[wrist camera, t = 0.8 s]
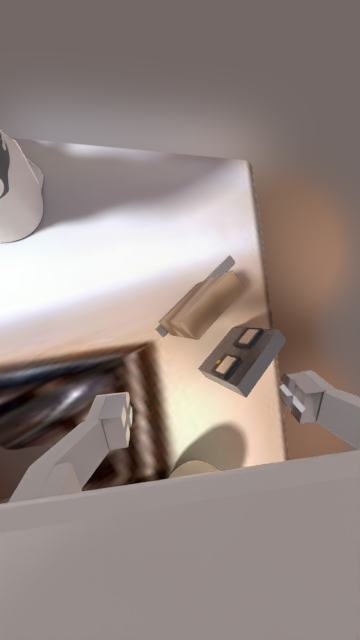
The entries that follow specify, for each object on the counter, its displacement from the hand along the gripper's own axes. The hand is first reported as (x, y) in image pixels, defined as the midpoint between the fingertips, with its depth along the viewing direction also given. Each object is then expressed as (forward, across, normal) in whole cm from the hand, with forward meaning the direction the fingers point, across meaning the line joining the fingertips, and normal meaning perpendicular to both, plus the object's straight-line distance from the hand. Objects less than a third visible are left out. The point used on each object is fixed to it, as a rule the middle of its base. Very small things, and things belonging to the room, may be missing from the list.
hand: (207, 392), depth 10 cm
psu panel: (+37, -11, +9) cm, 39 cm away
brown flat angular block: (+35, -2, +6) cm, 35 cm away
